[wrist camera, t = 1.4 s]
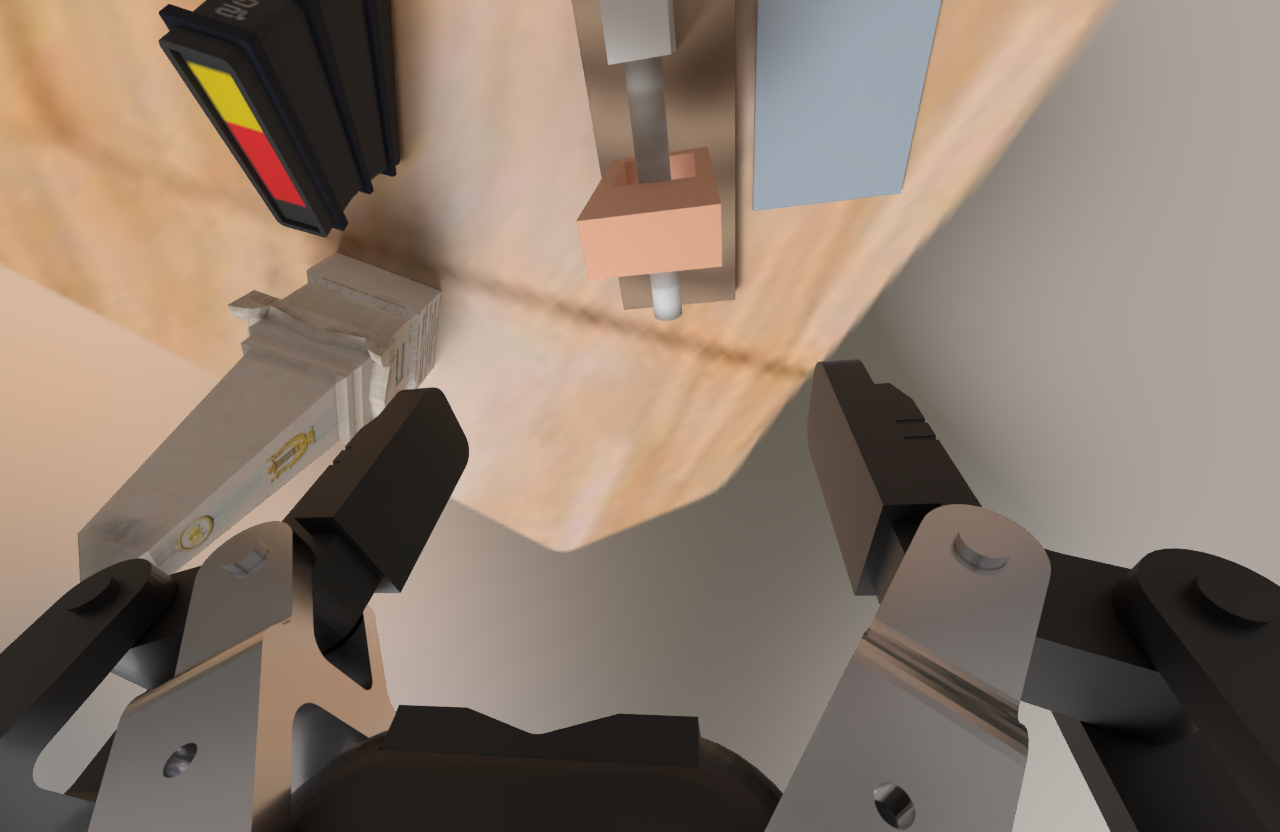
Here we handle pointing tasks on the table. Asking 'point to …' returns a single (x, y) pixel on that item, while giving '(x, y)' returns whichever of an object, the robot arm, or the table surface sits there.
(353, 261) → the miniature monument
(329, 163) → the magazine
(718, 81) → the stand
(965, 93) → the table surface
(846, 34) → the mat
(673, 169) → the salmon hollow block
